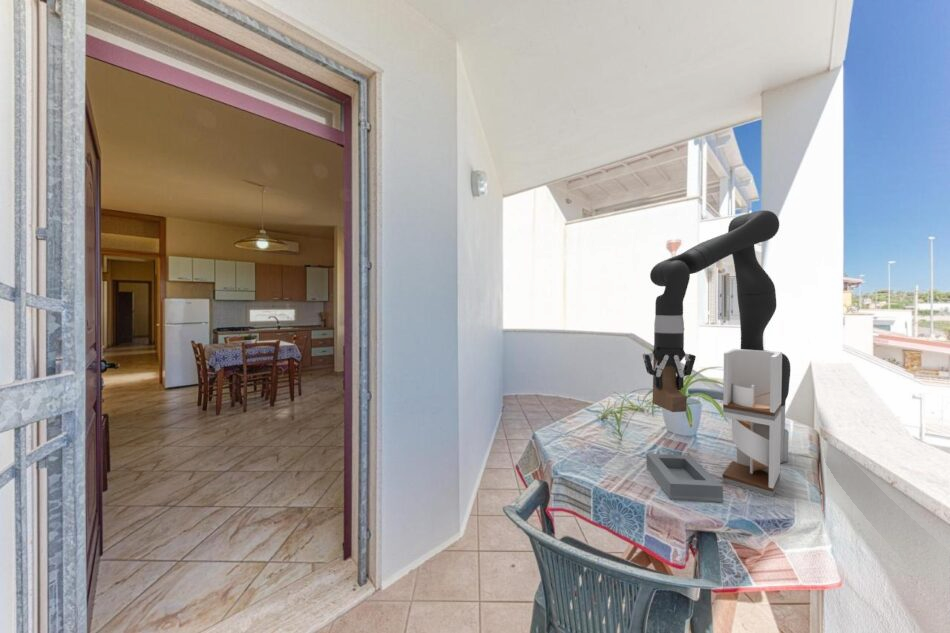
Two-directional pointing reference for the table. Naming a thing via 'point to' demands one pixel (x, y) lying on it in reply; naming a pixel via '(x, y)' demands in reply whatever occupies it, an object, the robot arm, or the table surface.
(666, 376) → the wooden block
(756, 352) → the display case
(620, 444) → the table surface
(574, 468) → the table surface
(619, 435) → the table surface
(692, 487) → the grey tray
